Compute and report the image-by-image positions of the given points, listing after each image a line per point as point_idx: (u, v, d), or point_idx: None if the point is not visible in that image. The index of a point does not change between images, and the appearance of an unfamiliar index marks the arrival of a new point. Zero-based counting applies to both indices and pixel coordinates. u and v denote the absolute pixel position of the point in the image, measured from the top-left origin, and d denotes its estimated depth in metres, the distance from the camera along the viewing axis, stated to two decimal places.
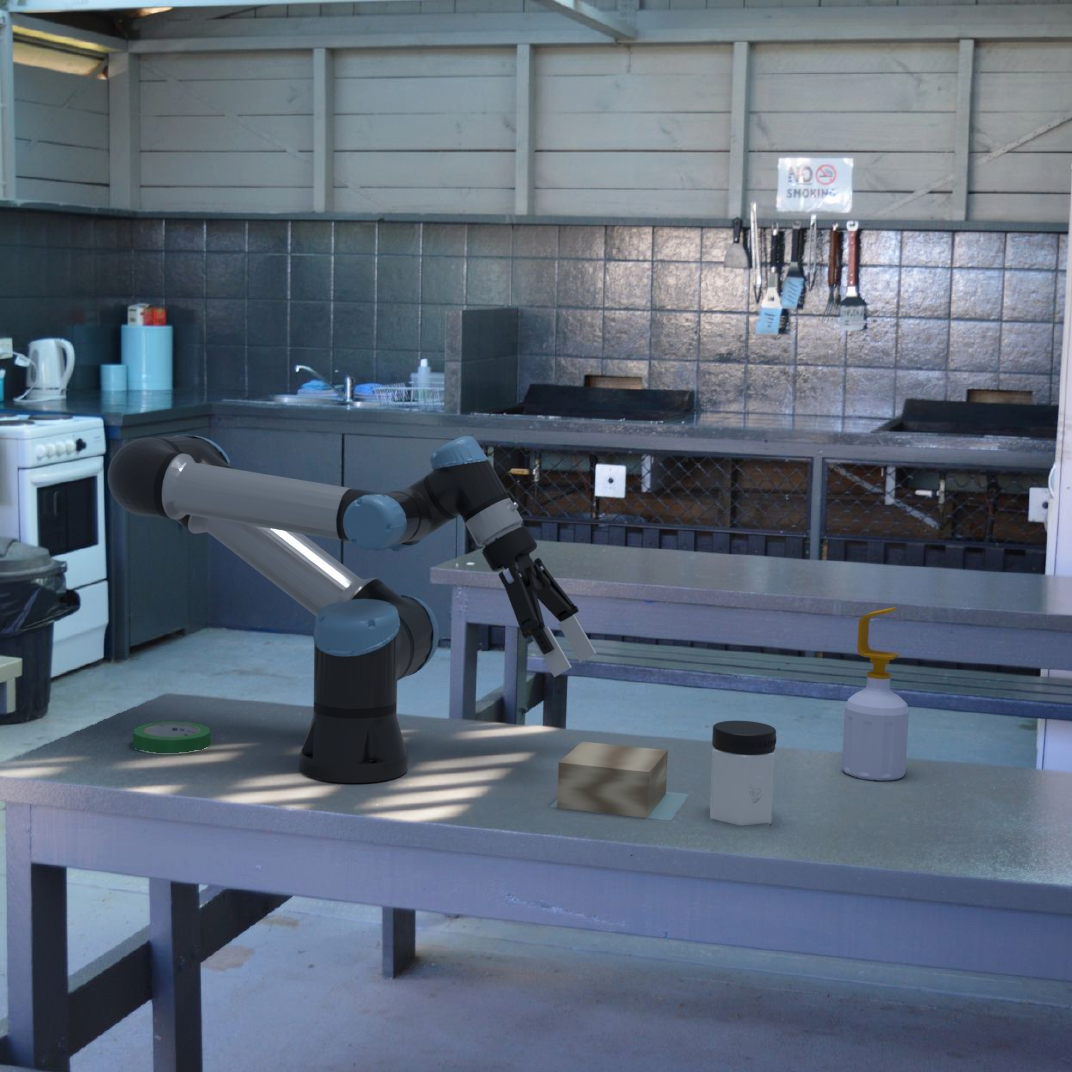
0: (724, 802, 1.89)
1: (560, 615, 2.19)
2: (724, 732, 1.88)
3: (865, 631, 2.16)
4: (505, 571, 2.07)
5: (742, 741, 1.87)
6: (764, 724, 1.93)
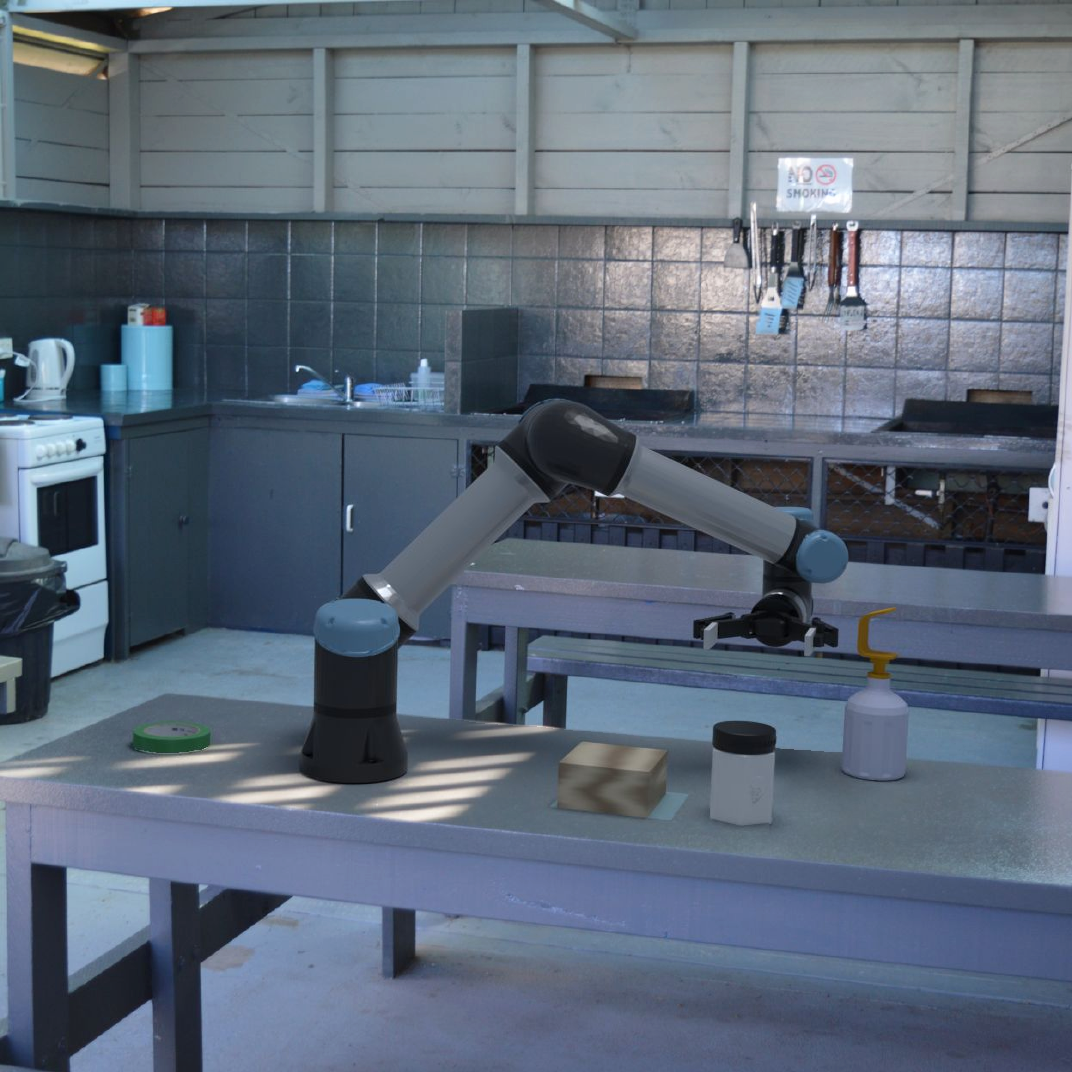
0: (724, 802, 1.89)
1: None
2: (724, 732, 1.88)
3: (865, 631, 2.16)
4: None
5: (742, 741, 1.87)
6: (764, 724, 1.93)
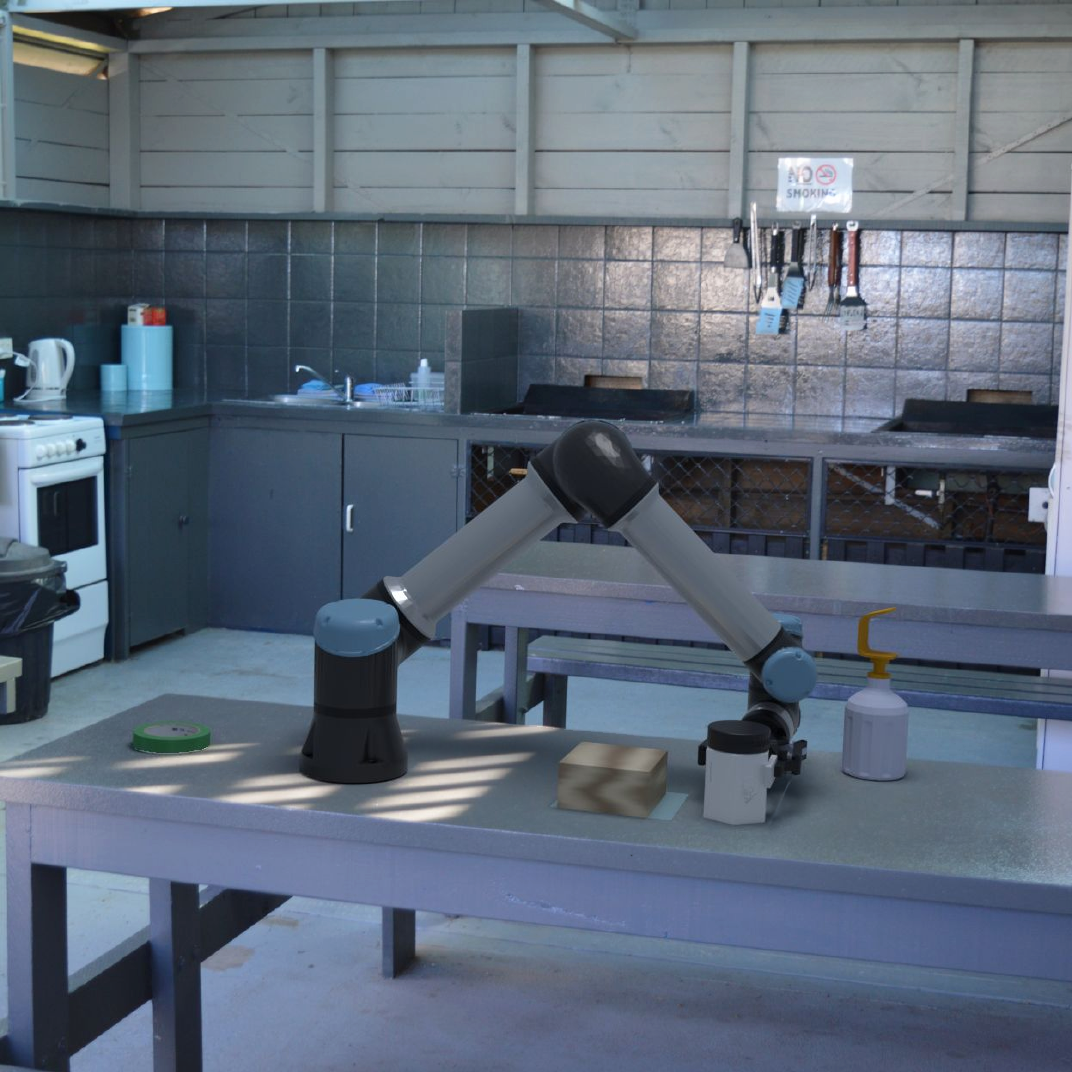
0: (717, 801, 1.89)
1: None
2: (717, 731, 1.88)
3: (865, 631, 2.16)
4: (806, 749, 2.02)
5: (734, 740, 1.87)
6: (760, 724, 1.93)
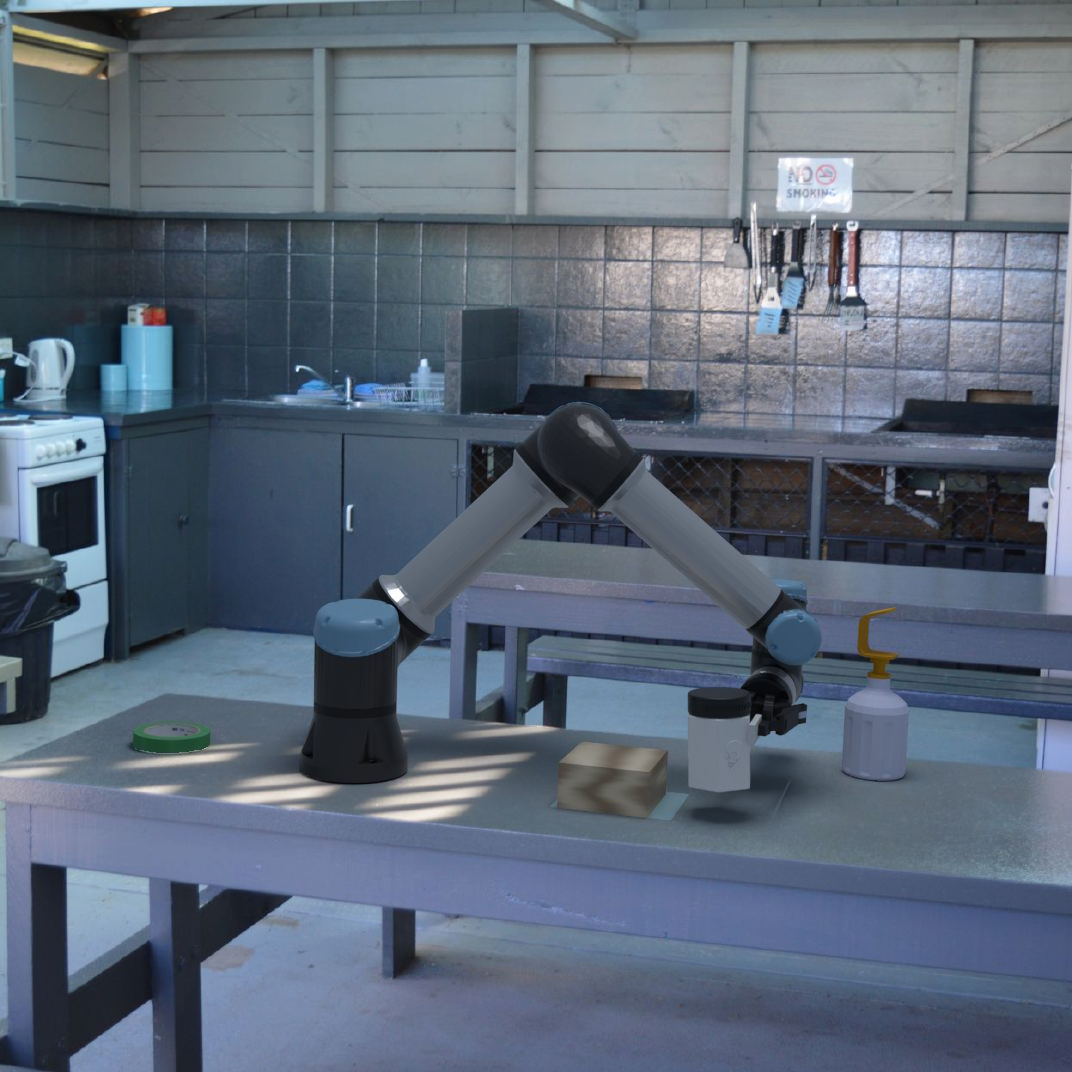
0: (701, 767, 1.88)
1: None
2: (697, 697, 1.88)
3: (865, 631, 2.16)
4: (806, 713, 2.01)
5: (715, 705, 1.87)
6: (740, 689, 1.92)
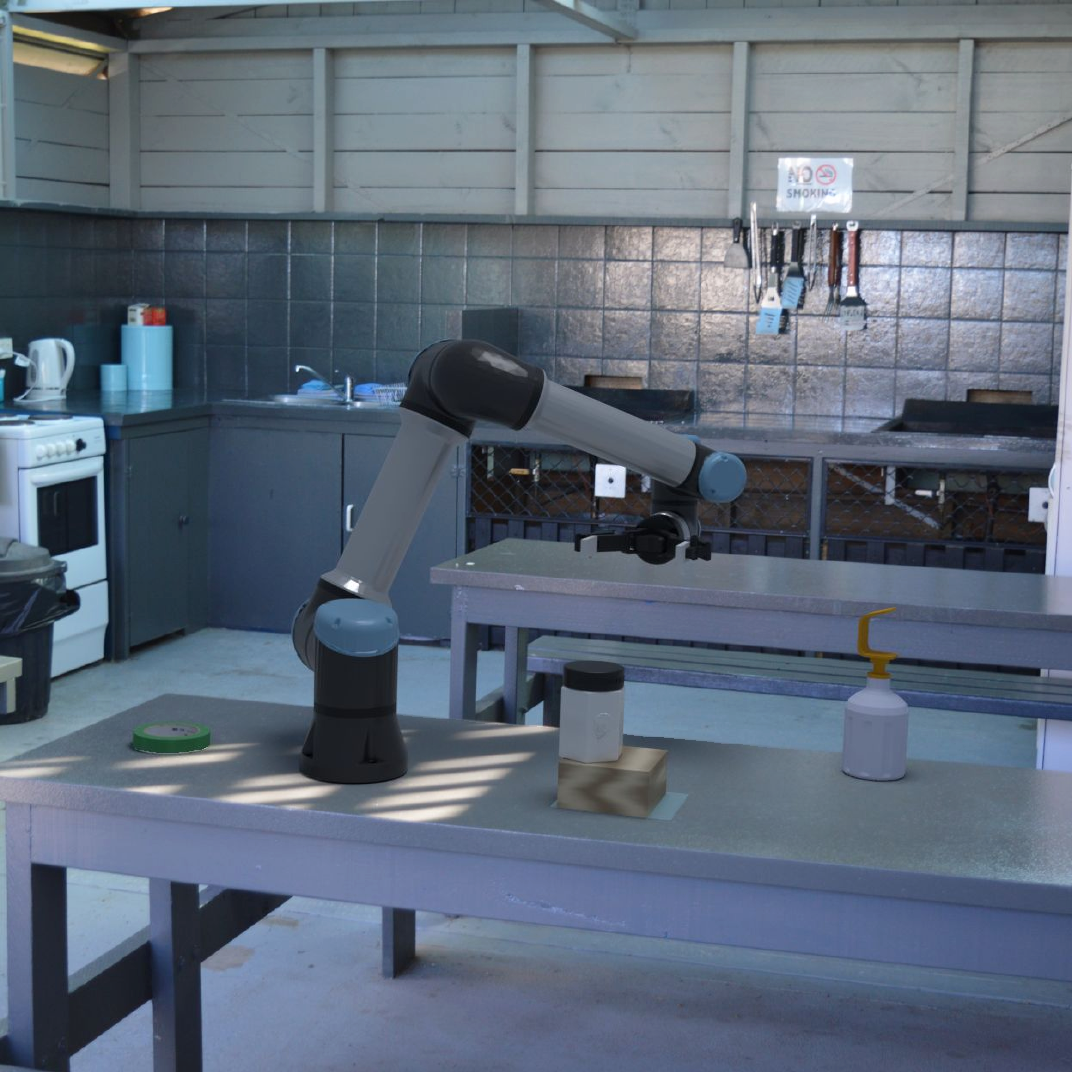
0: (571, 738, 1.93)
1: None
2: (570, 669, 1.92)
3: (865, 631, 2.16)
4: None
5: (586, 678, 1.91)
6: (616, 664, 1.97)
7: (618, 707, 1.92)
